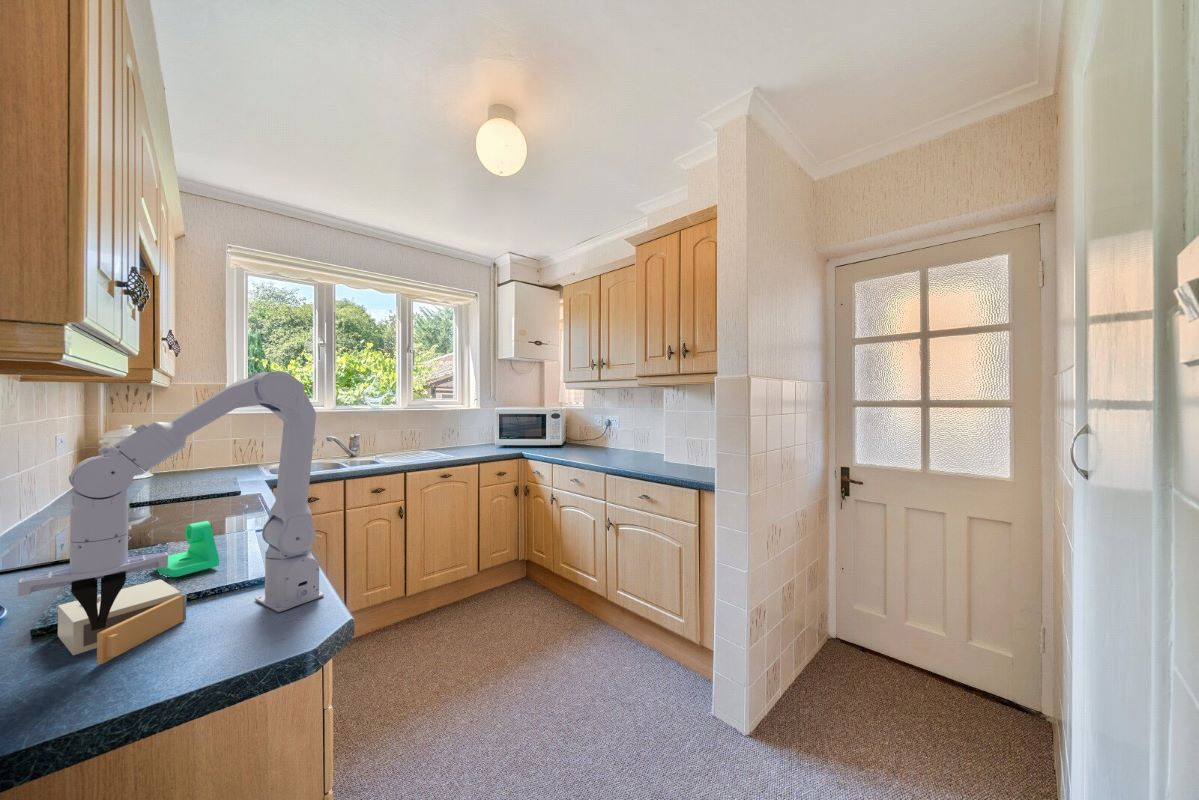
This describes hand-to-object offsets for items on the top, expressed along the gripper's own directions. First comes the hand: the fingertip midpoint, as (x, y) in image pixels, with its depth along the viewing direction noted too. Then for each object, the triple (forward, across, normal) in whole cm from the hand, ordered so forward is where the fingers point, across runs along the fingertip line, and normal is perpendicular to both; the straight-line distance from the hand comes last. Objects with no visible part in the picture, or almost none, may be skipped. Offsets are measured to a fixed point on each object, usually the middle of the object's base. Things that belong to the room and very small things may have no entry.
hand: (98, 626), depth 65 cm
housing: (+4, -3, -9) cm, 10 cm away
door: (+4, -5, 0) cm, 7 cm away
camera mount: (+5, -13, -34) cm, 37 cm away
